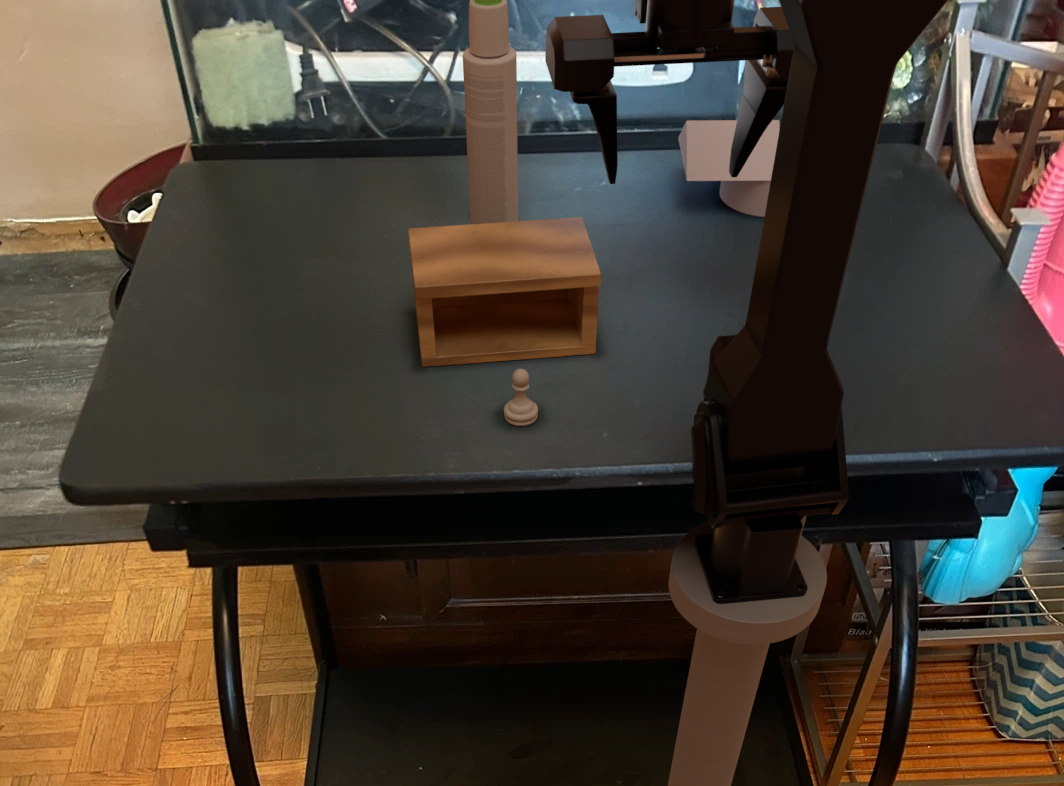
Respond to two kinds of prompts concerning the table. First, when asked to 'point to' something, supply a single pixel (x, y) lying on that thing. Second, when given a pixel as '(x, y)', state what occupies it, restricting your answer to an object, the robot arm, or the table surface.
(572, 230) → the shelf
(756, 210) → the wedge on round base
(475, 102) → the bottle
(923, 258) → the table surface
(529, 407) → the pawn
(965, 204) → the table surface
